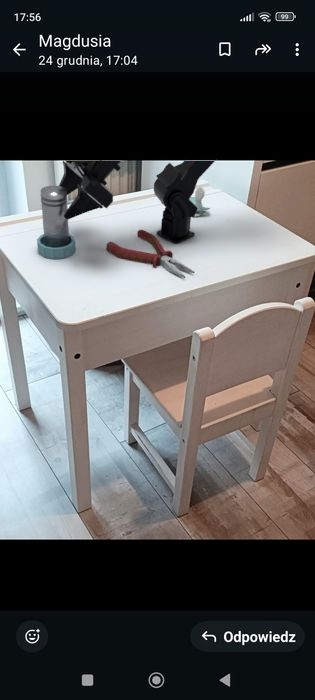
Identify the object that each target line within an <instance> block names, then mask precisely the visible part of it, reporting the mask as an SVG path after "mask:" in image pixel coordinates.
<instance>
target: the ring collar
mask: <svg viewBox="0 0 315 700" xmlns="http://www.w3.org/2000/svg"><path fill="white" fill-rule="evenodd" d="M36 243H37V244H36V246H37V252H38V254H39V255H40V256H41V257H43V258H46V259H48V260H49V259H50V260H61V259H66V258H68V257H71V256H72V255H73V254H74V253H75V251H76V239H75V236H73V234H70V233H69V245H67V246H64V247H58V248H52V247H46V246H45V242H44V233H43V234H41V235H39V237H38V238H37V239H36Z"/></svg>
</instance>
